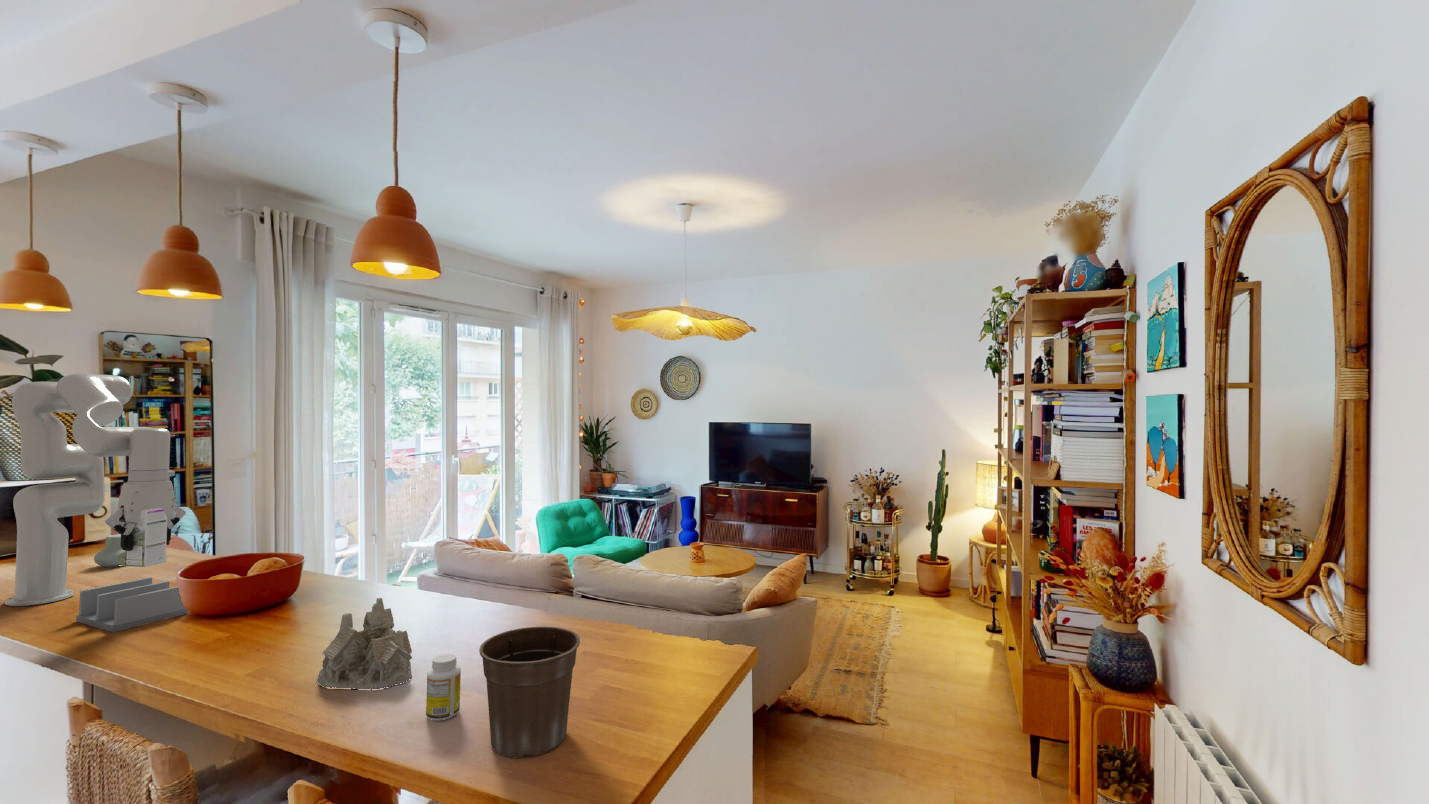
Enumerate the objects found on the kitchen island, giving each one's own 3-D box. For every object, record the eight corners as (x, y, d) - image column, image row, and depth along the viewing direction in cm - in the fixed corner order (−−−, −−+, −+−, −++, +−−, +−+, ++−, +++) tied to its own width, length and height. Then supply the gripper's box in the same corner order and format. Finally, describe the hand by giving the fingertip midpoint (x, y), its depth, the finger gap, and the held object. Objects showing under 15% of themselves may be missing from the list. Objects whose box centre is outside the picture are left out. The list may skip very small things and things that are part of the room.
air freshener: (123, 560, 207) (124, 531, 208) (144, 562, 206) (146, 532, 207) (87, 568, 196) (88, 538, 197) (109, 570, 196) (111, 539, 196)
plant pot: (453, 753, 96) (456, 651, 97) (519, 708, 111) (522, 620, 112) (537, 777, 90) (540, 669, 91) (595, 726, 106) (598, 633, 106)
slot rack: (75, 621, 149) (77, 591, 149) (151, 604, 163) (152, 576, 163) (113, 632, 143) (114, 600, 143) (188, 613, 157) (189, 584, 157)
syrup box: (167, 562, 154) (169, 505, 155) (143, 567, 148) (145, 508, 149) (147, 561, 155) (149, 504, 155) (122, 566, 149) (125, 508, 149)
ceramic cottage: (313, 673, 123) (320, 601, 123) (401, 658, 133) (408, 591, 133) (322, 708, 111) (330, 628, 111) (418, 688, 121) (425, 614, 121)
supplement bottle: (450, 704, 112) (452, 649, 112) (465, 714, 108) (467, 657, 109) (420, 715, 108) (422, 658, 108) (434, 726, 104) (436, 667, 104)
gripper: (181, 473, 162) (178, 539, 161) (95, 479, 146) (92, 552, 145) (197, 474, 159) (195, 542, 158) (112, 480, 143) (109, 556, 142)
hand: (146, 546), depth 152 cm, fingers closed on syrup box, 6 cm apart
